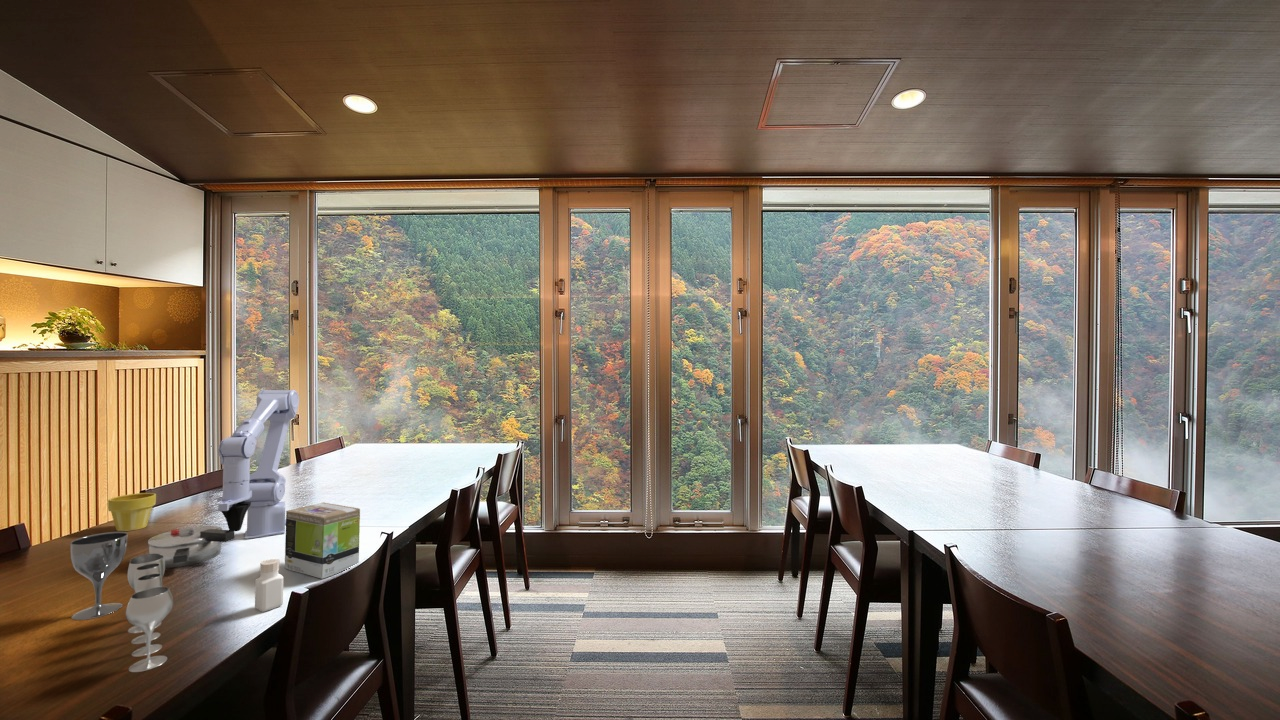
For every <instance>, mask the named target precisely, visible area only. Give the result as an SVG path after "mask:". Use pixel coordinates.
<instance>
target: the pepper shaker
mask: <svg viewBox="0 0 1280 720" xmlns="http://www.w3.org/2000/svg"><path fill="white" fill-rule="evenodd" d="M259 570H260V571H259V572H260V576H259V577H258V578H256V579H255V581H254V582H255V586H254V587H255V588H254V608H255V609H256V610H259V611H260V612H261V613H263V612H264V613H265V612H267V611H268V612H269V611H270V610H272V609H276V608H279V607H281V606H283V605H284V576H283V575H282V574H280V573H279V570H280V559H278V558H270V559H266V560H263V561H261V562H260V565H259Z"/></svg>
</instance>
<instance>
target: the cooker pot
mask: <svg viewBox="0 0 1280 720" xmlns="http://www.w3.org/2000/svg"><path fill="white" fill-rule="evenodd" d="M221 549H222V542H216V541H203V542H199V543H195V544H190V545H184V546H176V547H151V546H149V545H148V554H154V553H157V554H160V555H163V556H164V560H165V569H169V568H170V569H171V568H179V567H184V566H191V565H194V564H199V563H203V562H205V561H209V560H211V559H213V558H215V557H217V556H218V555H220V554H221Z"/></svg>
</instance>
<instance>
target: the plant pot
mask: <svg viewBox="0 0 1280 720" xmlns="http://www.w3.org/2000/svg"><path fill="white" fill-rule="evenodd" d="M156 502H157V493H154V492H140V493H131V494H123V495H118V496H114V497H111V498H109V499H108V501H107V507H108V508H107V510H108V512H111V516H112V520H113V523H114V527H115V530H116V532H131V531H136V530H141V529H144V528H146V527H147V526H148V524H149V519H150V517H151V513H152V509H153V507H154V506H155V505H156Z"/></svg>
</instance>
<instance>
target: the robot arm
mask: <svg viewBox="0 0 1280 720" xmlns="http://www.w3.org/2000/svg"><path fill="white" fill-rule="evenodd" d="M299 405H300V397H299V394H298V392H297V390H295V389H290V390H289V389H286V390H282V389H278V390H277V389H274V390H273V389H270V390H269V389H268V390H267V389H261V390H260V391H259V392H258V393H257V395H256V407H255V409H254V411H253V412H252V414H251V416H250V418H245V419H243V420H242V421H241V423H240V424H239V425H238V426H237V428H236V429H235V430H234V432H232V434H231V435H230V436H228V437H225V438H224V439H222V440H221V441H220V443H219V446H218V450H217V452H218V456H219V458H220V464H221V465H222V466H223V467H222V496H220V497H217V499H216V501H217V502H219V503H218V504H217V512H221V514H222V515H223V517H224V518H225V521H226V524H227V528H228V530H234V532H239V531H241V529H242V527H243V524H244V521H245V516H247V517H246V530H245V531H244V532H245V534H244V539H245V540H249V539H255V538H261V537H267V536H274V535H275V536H276V535H281V534H286V501H282V499H283V498H284V496H285V493H286V477H285V476H284V475H282V474H281V473H280V472H278V470H279V466H280V461H281V458H282V454H283V450H284V446H285V442H286V437H287V435H288V429H289V426H290V423H291V420H293V419H295V417H297V416H296V415H297V413H298V409H299ZM267 420H268V421H269V427H268V428H267V429H268V430H267V434H266V438H265V440H264V441H265V442H264V446H263V448H262V452H261V457H260V459H259V463H258V467H257V469H256V471H254V472H252V473H251V471H250V470H251V457H252V456H254V454H255V451H256V447H257V444H258V442H257V440H258V439H259V438H260V436H261V435H262V433H263V432H264V430H265V423H266V421H267ZM246 514H247V515H246Z"/></svg>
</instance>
